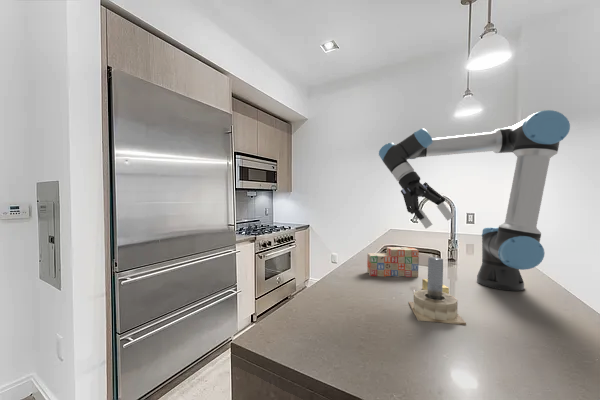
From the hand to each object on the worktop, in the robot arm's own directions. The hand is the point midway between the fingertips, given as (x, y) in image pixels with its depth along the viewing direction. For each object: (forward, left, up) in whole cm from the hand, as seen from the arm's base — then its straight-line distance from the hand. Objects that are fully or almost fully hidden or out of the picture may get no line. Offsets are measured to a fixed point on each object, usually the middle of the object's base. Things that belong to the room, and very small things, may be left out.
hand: (440, 222), depth 93 cm
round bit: (+7, +16, -26) cm, 31 cm away
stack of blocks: (+13, -23, -27) cm, 38 cm away
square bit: (0, +3, -24) cm, 25 cm away
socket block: (+7, +16, -26) cm, 32 cm away
